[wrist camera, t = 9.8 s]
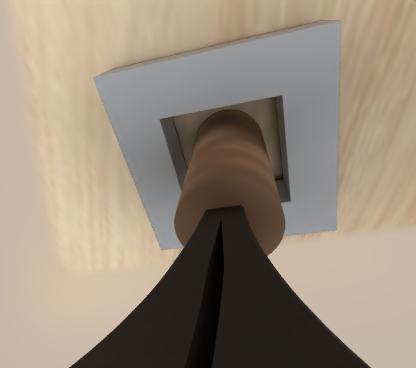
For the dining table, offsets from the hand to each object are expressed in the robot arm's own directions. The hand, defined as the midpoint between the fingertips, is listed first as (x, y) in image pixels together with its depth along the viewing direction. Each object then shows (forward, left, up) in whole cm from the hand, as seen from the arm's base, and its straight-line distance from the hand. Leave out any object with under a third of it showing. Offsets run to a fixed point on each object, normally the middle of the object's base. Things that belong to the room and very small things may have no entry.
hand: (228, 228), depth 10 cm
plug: (0, 0, -8) cm, 8 cm away
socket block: (0, 0, -8) cm, 8 cm away
